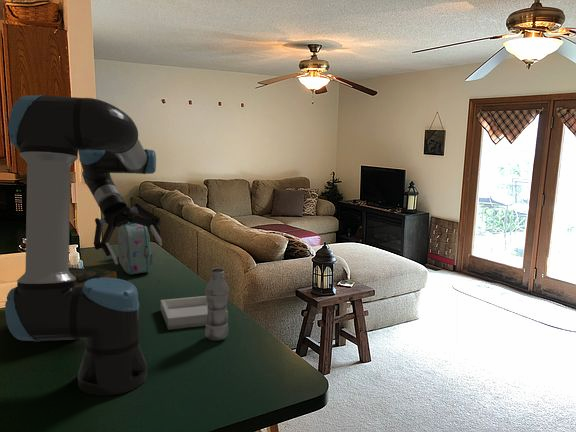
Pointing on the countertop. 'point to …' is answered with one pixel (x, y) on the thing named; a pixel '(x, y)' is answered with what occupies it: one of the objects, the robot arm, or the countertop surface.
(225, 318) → the plastic bottle
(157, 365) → the countertop surface
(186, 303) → the tray
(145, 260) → the lunch box
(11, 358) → the countertop surface
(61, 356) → the countertop surface
